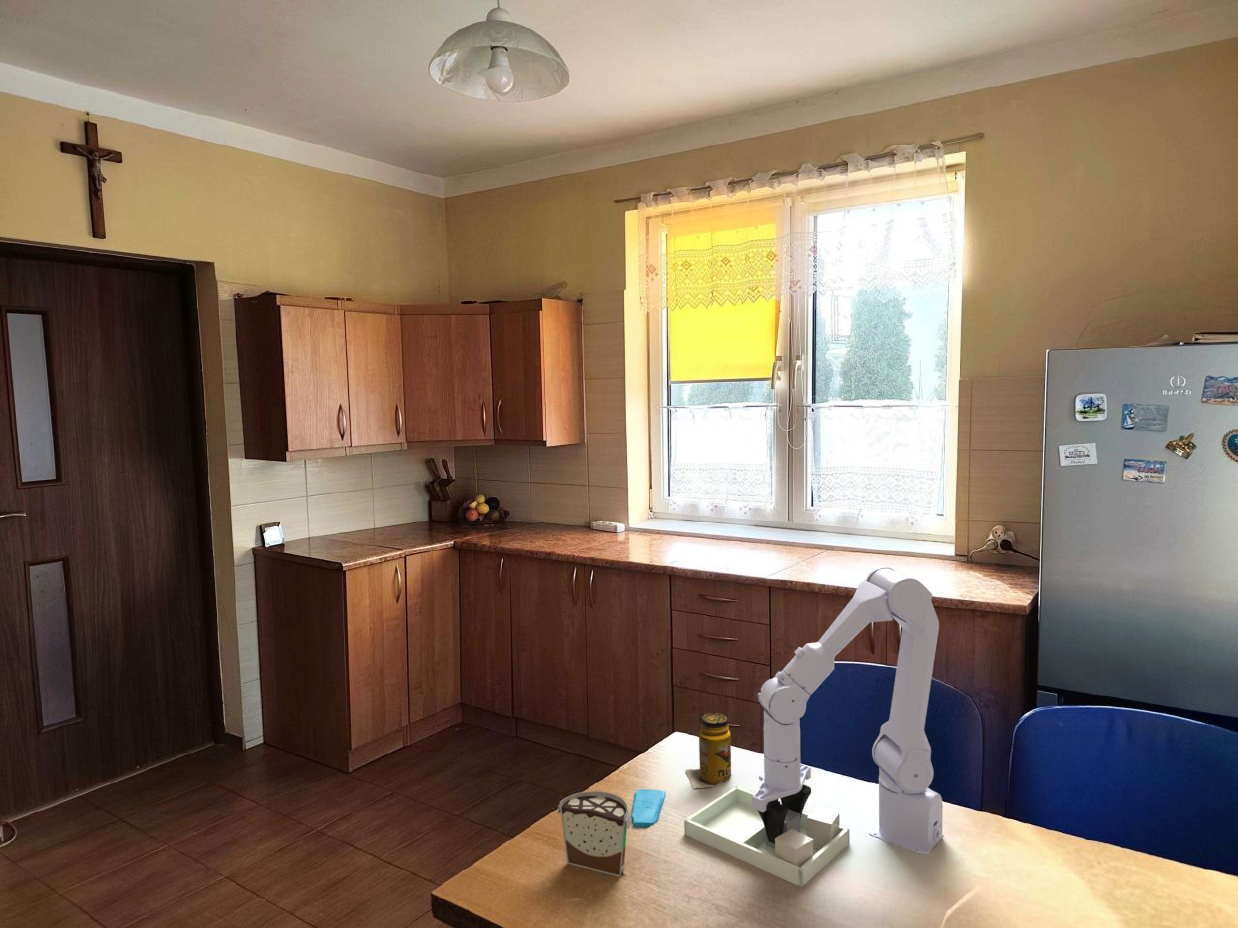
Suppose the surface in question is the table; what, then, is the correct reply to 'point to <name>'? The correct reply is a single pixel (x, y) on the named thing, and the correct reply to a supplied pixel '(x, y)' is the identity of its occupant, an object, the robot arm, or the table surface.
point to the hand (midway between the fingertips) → (783, 835)
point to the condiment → (712, 752)
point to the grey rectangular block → (788, 825)
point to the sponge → (647, 807)
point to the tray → (755, 837)
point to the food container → (595, 830)
